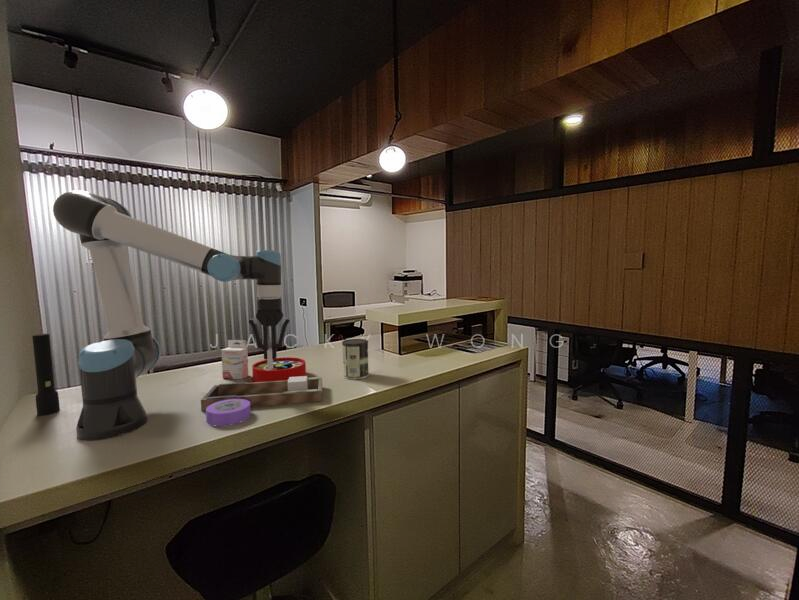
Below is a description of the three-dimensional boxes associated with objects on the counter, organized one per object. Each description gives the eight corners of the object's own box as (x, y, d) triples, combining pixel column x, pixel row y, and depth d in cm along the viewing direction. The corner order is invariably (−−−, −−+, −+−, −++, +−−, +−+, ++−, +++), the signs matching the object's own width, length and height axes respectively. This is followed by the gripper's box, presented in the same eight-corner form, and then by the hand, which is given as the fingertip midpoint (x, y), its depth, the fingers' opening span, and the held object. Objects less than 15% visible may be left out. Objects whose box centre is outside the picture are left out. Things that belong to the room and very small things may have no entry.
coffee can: (364, 371, 153) (364, 337, 151) (372, 377, 143) (371, 342, 142) (340, 373, 149) (339, 339, 147) (346, 381, 139) (345, 344, 138)
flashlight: (34, 413, 111) (40, 416, 108) (26, 335, 108) (32, 336, 106) (55, 407, 115) (62, 410, 112) (48, 332, 113) (55, 333, 110)
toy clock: (241, 365, 142) (284, 355, 158) (242, 380, 142) (284, 368, 159) (273, 373, 130) (316, 361, 147) (274, 389, 131) (316, 375, 147)
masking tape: (238, 407, 114) (238, 395, 114) (258, 416, 107) (257, 404, 107) (199, 419, 105) (198, 406, 105) (218, 430, 98) (217, 417, 98)
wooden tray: (201, 411, 111) (200, 399, 111) (215, 395, 125) (214, 384, 125) (322, 401, 118) (321, 390, 118) (322, 387, 132) (322, 376, 132)
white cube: (307, 392, 127) (307, 375, 127) (306, 398, 121) (306, 381, 121) (289, 394, 126) (289, 377, 125) (288, 400, 120) (287, 382, 119)
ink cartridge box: (222, 379, 143) (220, 342, 142) (229, 375, 148) (227, 339, 147) (242, 379, 142) (240, 342, 141) (249, 375, 147) (247, 339, 146)
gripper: (291, 297, 124) (291, 365, 126) (250, 297, 121) (251, 366, 123) (289, 298, 117) (289, 371, 119) (245, 298, 114) (247, 372, 116)
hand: (270, 368), depth 121 cm, fingers closed
